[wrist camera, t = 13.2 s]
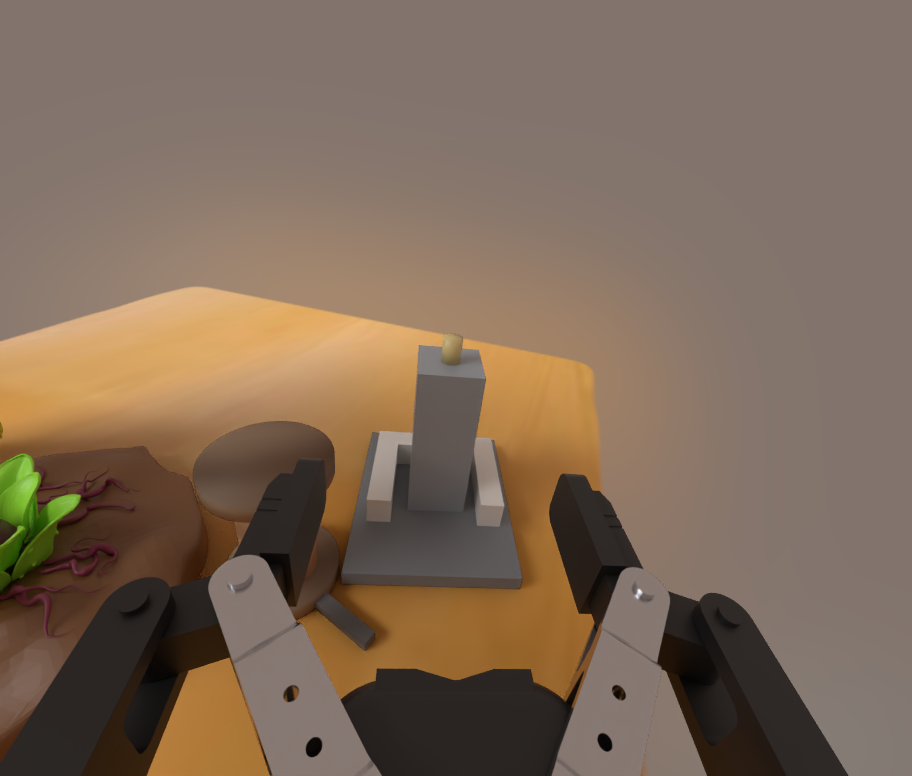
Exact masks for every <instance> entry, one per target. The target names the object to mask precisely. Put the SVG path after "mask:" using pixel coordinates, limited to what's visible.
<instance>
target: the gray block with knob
mask: <svg viewBox="0 0 912 776" xmlns="http://www.w3.org/2000/svg"><path fill="white" fill-rule="evenodd" d="M462 344H463V337H462V336H460V335H457V334H445V335H444V336H443V345H442V347H434V346H421V345H419V352H418V365H417V379H416V392H415V405H414V419H413V432H412V446H411V459H410V473H409V490H408V508H407V510H422V511H450V512H463V510H464V504H465V498H466V492H467V486H468V481H469V475H470V469H471V463H472V457H473V451H474V446H475V440H476V434H477V428H478V422H479V417H480V411H481V405H482V399H483V393H484V387H485V382H486V377H485V373H484V369H483V365H482V361H481V357H480V353H479V350H472V349H462Z"/></svg>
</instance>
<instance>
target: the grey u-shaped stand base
mask: <svg viewBox="0 0 912 776" xmlns="http://www.w3.org/2000/svg"><path fill="white" fill-rule="evenodd" d="M411 446H412V433H406V432H391V431H380V433H375V432H372V436H371V441H370V446H369V450H368V455H367V459H366V464H365V468H364V473H363V477H362V482H361V486H360V491H359V495H358V500H357V505H356V509H355V514H354V518H353V523H352V527H351V532H350V536H349V541H348V545H347V550H346V554H345V559H344V564H343V568H342V573H341V578H342V584H364V585H399V586H435V587H471V588H506V589H520V586H521V583H522V579H523V578H522V573H521V568H520V564H519V559H518V554H517V549H516V544H515V539H514V535H513V530H512V525H511V520H510V515H509V510H508V505H507V501H506V496H505V491H504V486H503V481H502V476H501V472H500V467H499V462H498V457H497V452H496V447H495V442H494V440H491V438H484V437H476V440H475V446H474V451H473V457H472V463H471V469H470V475H469V481H468V486H467V492H466V498H465V504H464V510H463V512H450V511H422V510H407V508H408V490H409V473H410V459H411Z"/></svg>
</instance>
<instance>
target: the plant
mask: <svg viewBox="0 0 912 776" xmlns="http://www.w3.org/2000/svg"><path fill="white" fill-rule="evenodd" d="M2 432H3V427H2V425H1V423H0V439H1V438H2ZM207 551H208V536H207V531H206V528H205V524H204V520H203V517H202V514H201V511H200V508H199V505H198V502H197V499H196V496H195V493H194V489H193V486H192V483H191V481H190V480H189V478H188V477H186V476H182V475H179V474H175V473H172V472H169V471H167V470H166V469H164V468H163V467H162V466H161V465H159V463H158V462H157V461H156V460H155V459H154V458H153V457H152V456H151V455H150V454H149V452H148V450H147V448H146V447H144V446H140V447H133V448H117V449H103V450H95V451H86V452H77V453H66V454H55V455H48V456H43V457H39V458H35V459H32V457H31V456H29V455H28V454H24V453H23V454H20V455H17V456H15V457H13V458H11V459H9V460H8V461H6V462H4V463H3V464H1V465H0V762H1V761H2V759H3V758H4V756H5V755H6V753H7V752H8V750H9V748H10V747H11V745H12V744H13V742H14V741H15V739H16V738H17V736H18V734H19V733H20V731H21V730H22V728H23V727H24V725H25V724H26V722H27V720H28V719H29V717H30V716H31V714H32V713H33V711H34V710H35V708H36V706H37V705H38V703H39V702H40V700H41V699H42V697H43V695H44V694H45V692H46V691H47V689H48V688H49V686H50V685H51V683H52V681H53V680H54V678H55V677H56V675H57V674H58V672H59V671H60V669H61V667H62V666H63V664H64V663H65V661H66V660H67V658H68V657H69V655H70V653H71V652H72V650H73V649H74V647H75V646H76V644H77V643H78V641H79V639H80V638H81V636H82V635H83V633H84V632H85V630H86V629H87V627H88V625H89V624H90V622H91V621H92V619H93V618H94V616H95V614H96V613H97V611H98V610H99V608H100V607H101V605H102V604H103V602H104V601H105V600H106V599H107V598H108V597H109V596H110V595H111V594H112V593H113V592H114V591H116V590H117V589H118V588H120V587H121V586H123V585H125V584H127V583H129V582H131V581H134V580H137V579H140V578H145V577H157V578H160V579H163V580H164V581H166V582H167V584H168V585H169V587H172V586H176V585H180V584H184V583H188V582H192V581H196V580H197V578H198V576H199V575H200V573H201V571H202V570H203V568H204V565H205V563H206V560H207Z"/></svg>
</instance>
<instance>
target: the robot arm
mask: <svg viewBox="0 0 912 776" xmlns="http://www.w3.org/2000/svg"><path fill="white" fill-rule="evenodd" d="M325 503H326V479H325V463H324V459H312V458H299V460H298V462H297V464H296V466H295V469H294V471H293V474H289V473H280V474H279V475H278V476H277V477H276V478H275V479H274V480H273V481H271V482H270V483H269V484H268V486H267V488H266V490H265V492H264V494H263V497H262V500H261V501H260V503H259V505H258V507H257V510H256V512H255V513H254V515H253V518H252V520H251V522H250V524H249V526H248V528H247V530H246V532H245V534H244V537H243V539H242V541H241V543H240V545H239V547H238V549H237V551H236V553H235V555H234V557H233V558H232V559H231V560H229V561H227V562H225V563H224V564H222V565H221V566H220V567H219V568H218V569H217V570H216V571H215V572H214V574H213V575H211V576H208V577H206V578H203V579H200V580H196V581H192V582H188V583H184V584H180V585H176V586H172V587H169V585H168V584H167V582H166V581H164V580H163V579H160V578H157V577H145V578H140V579H137V580H134V581H131V582H129V583H127V584H125V585H123V586H121V587H120V588H118V589H117V590H116V591H114V592H113V593H112V594H111V595H110V596H109V597H108V598H107V599H106V600H105V601H104V602H103V604H102V605H101V607H100V608H99V610H98V611H97V613H96V614H95V616H94V618H93V619H92V621H91V622H90V624H89V625H88V627H87V629H86V630H85V632H84V633H83V635H82V636H81V638H80V639H79V641H78V643H77V644H76V646H75V647H74V649H73V650H72V652H71V653H70V655H69V657H68V658H67V660H66V661H65V663H64V664H63V666H62V667H61V669H60V671H59V672H58V674H57V675H56V677H55V678H54V680H53V681H52V683H51V685H50V686H49V688H48V689H47V691H46V692H45V694H44V695H43V697H42V699H41V700H40V702H39V703H38V705H37V706H36V708H35V710H34V711H33V713H32V714H31V716H30V717H29V719H28V720H27V722H26V724H25V725H24V727H23V728H22V730H21V731H20V733H19V734H18V736H17V738H16V739H15V741H14V742H13V744H12V745H11V747H10V748H9V750H8V752H7V753H6V755H5V756H4V758H3V759H2V761H1V762H0V776H147V773H148V771H149V768H150V766H151V763H152V761H153V758H154V756H155V753H156V751H157V748H158V746H159V743H160V741H161V738H162V736H163V733H164V731H165V728H166V726H167V723H168V721H169V718H170V716H171V713H172V711H173V708H174V706H175V703H176V701H177V698H178V696H179V693H180V691H181V688H182V686H183V683H184V681H185V678H186V676H187V673H188V671H189V670H192V669H195V668H198V667H201V666H204V665H207V664H210V663H213V662H216V661H220V660H223V659H226V658H230V660H231V663H232V666H233V669H234V672H235V675H236V678H237V681H238V684H239V687H240V689H241V692H242V695H243V698H244V701H245V704H246V707H247V710H248V713H249V716H250V719H251V722H252V725H253V728H254V731H255V734H256V737H257V740H258V743H259V746H260V749H261V752H262V754H263V757H264V760H265V763H266V766H267V769H268V772H269V775H270V776H640V775H641V770H642V765H643V760H644V755H645V750H646V745H647V740H648V736H649V731H650V726H651V721H652V715H653V711H654V706H655V702H656V697H657V692H658V687H659V682H660V677H661V669H662V670H665V671H666V672H667V674H668V677H669V679H670V682H671V684H672V687H673V690H674V692H675V695H676V697H677V700H678V702H679V705H680V708H681V710H682V713H683V715H684V717H685V720H686V723H687V725H688V728H689V731H690V733H691V735H692V738H693V741H694V743H695V746H696V748H697V751H698V754H699V756H700V759H701V761H702V764H703V766H704V769H705V771H706V774H707V776H848V774H847V773H846V771H845V769H844V768H843V766H842V764H841V763H840V761H839V760H838V758H837V756H836V755H835V753H834V751H833V750H832V748H831V747H830V745H829V743H828V742H827V740H826V739H825V737H824V735H823V734H822V732H821V730H820V729H819V727H818V726H817V724H816V722H815V721H814V719H813V717H812V716H811V714H810V713H809V711H808V709H807V708H806V706H805V704H804V703H803V701H802V700H801V698H800V696H799V695H798V693H797V691H796V690H795V688H794V687H793V685H792V683H791V682H790V680H789V678H788V677H787V675H786V674H785V672H784V670H783V669H782V667H781V665H780V664H779V662H778V661H777V659H776V658H775V656H774V654H773V652H772V651H771V649H770V648H769V646H768V644H767V643H766V641H765V639H764V638H763V636H762V635H761V633H760V631H759V630H758V628H757V626H756V625H755V623H754V622H753V620H752V618H751V617H750V616H749V614H748V613H747V612H746V611H745V610H744V609H743V608H742V607H741V606H740V605H739V604H738V603H736V602H735V601H733V600H732V599H730V598H728V597H726V596H724V595H721V594H717V593H708V594H706V595H704V596H703V597H702V598H701V599H700V601H699V602H698V601H695V600H692V599H689V598H686V597H683V596H680V595H677V594H674V593H671V592H669V591H667V589H666V587H665V586H664V584H663V583H662V582H661V581H660V580H659V579H658V578H657V577H656V576H654V575H653V574H652V573H650V572H648V571H646V570H644V569H643V568H642V566H641V564H640V561H639V560H638V557H637V555H636V553H635V551H634V549H633V548H632V545H631V543H630V541H629V539H628V538H627V535H626V533H625V531H624V529H622V525H621V523H620V521H619V519H618V518H617V515H616V513H615V511H614V509H613V507H612V505H611V503H610V502H609V501H608V500H607V499H606V498H605V497H604V496H603V495H602V493H601V492H600V491H592V489H591V487H590V484H589V482H588V480H587V478H586V477H585V476H584V475H576V474H561V476H560V478H559V480H558V483H557V486H556V489H555V492H554V495H553V498H552V501H551V504H550V510H549V516H550V523H551V526H552V529H553V532H554V536H555V539H556V542H557V545H558V548H559V552H560V555H561V558H562V561H563V564H564V568H565V571H566V574H567V577H568V580H569V584H570V587H571V590H572V593H573V596H574V600H575V603H576V606H577V609H578V612H579V614H592V616H593V619H594V622H595V623H594V625H593V627H592V629H591V631H590V634H589V636H588V639H587V642H586V644H585V647H584V649H583V652H582V655H581V657H580V660H579V662H578V665H577V668H576V670H575V673H574V675H573V678H572V680H571V683H570V685H569V687H568V689H567V691H566V694H565V696H564V698H563V699H562V698H561V697H560V696H558V695H557V694H556V693H554V692H553V691H551V690H549V689H548V688H546V687H544V686H542V685H539V684H537V683H534V682H533V678H532V673H531V669H493V670H490V671H487V672H484V673H480V674H477V675H474V676H471V677H467V678H464V679H461V680H451V679H448V678H444V677H441V676H438V675H434V674H431V673H428V672H425V671H421V670H418V669H377V673H376V681H374V682H371V683H367V684H365V685H363V686H361V687H359V688H357V689H355V690H353V691H352V692H350V693H349V694H347V695H346V696H345V697H343V698H342V699H341V700H340V698H339V696H338V694H337V692H336V690H335V688H334V686H333V684H332V682H331V680H330V678H329V676H328V674H327V672H326V670H325V668H324V666H323V664H322V662H321V660H320V658H319V656H318V654H317V652H316V650H315V648H314V646H313V644H312V642H311V640H310V638H309V636H308V634H307V632H306V630H305V629H304V627H303V626H302V624H301V623H297V622H296V620H295V618H294V616H293V614H292V612H291V610H290V608H289V607H296V606H297V603H298V599H299V596H300V592H301V589H302V585H303V582H304V579H305V575H306V572H307V568H308V565H309V561H310V558H311V554H312V551H313V548H314V544H315V541H316V537H317V534H318V530H319V527H320V523H321V520H322V516H323V513H324V509H325Z"/></svg>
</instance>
